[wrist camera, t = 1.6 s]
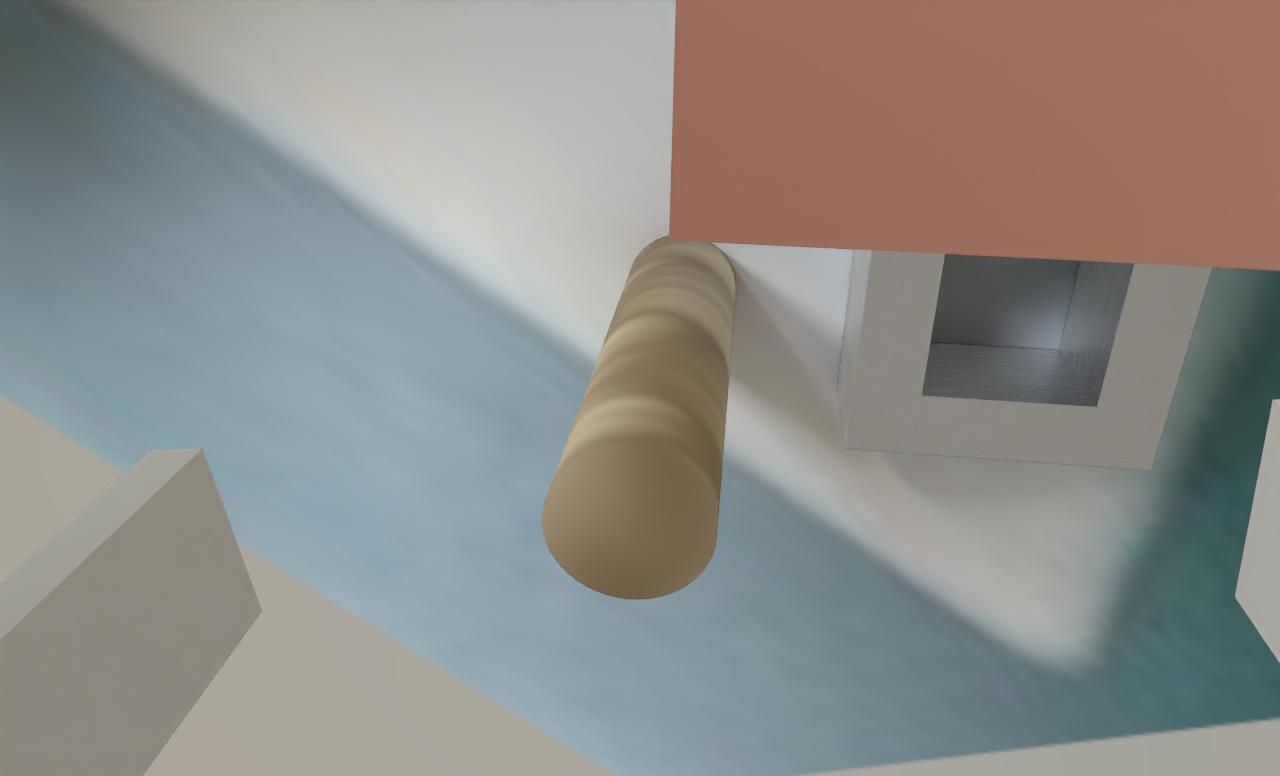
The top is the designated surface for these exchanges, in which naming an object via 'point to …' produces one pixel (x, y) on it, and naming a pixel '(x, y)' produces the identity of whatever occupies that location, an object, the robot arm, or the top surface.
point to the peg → (650, 431)
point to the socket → (1016, 368)
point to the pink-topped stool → (982, 128)
